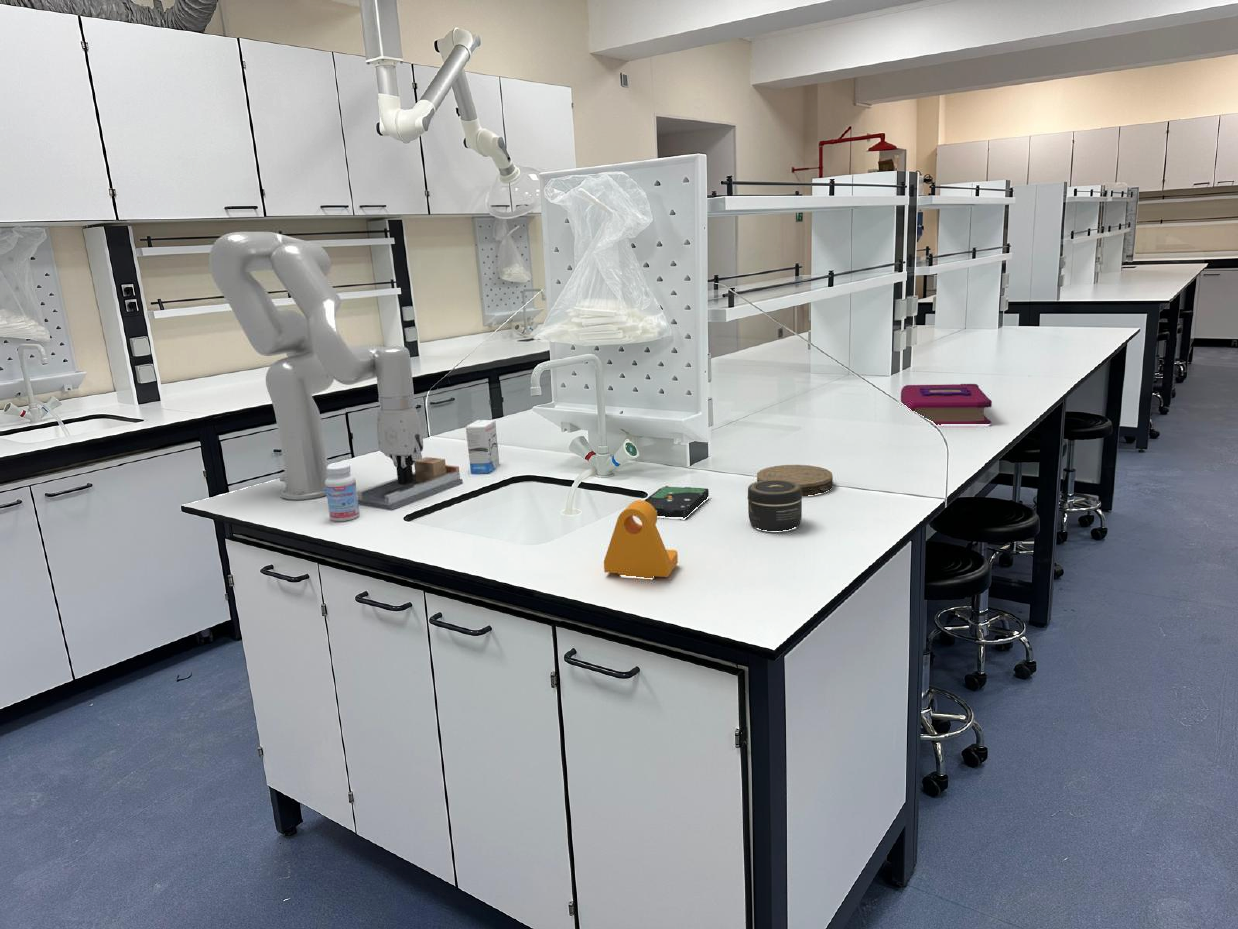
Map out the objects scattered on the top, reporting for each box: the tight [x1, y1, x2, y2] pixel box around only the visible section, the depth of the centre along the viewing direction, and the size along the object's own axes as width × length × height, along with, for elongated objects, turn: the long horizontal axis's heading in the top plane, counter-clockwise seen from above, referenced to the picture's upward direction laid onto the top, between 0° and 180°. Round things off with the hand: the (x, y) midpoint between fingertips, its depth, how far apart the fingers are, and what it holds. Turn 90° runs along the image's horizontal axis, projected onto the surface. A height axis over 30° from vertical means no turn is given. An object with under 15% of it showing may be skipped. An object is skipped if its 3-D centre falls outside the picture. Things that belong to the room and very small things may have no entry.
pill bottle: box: [325, 462, 360, 522], centre depth 180 cm, size 6×6×11 cm
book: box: [900, 383, 993, 425], centre depth 243 cm, size 21×28×8 cm
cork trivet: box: [756, 464, 834, 496], centre depth 185 cm, size 16×16×3 cm
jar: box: [747, 480, 803, 531], centre depth 161 cm, size 10×10×8 cm
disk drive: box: [643, 485, 710, 518], centre depth 176 cm, size 10×3×15 cm
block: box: [413, 456, 447, 483], centre depth 201 cm, size 6×4×5 cm, turn 58°
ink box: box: [465, 419, 501, 475], centre depth 213 cm, size 9×5×12 cm, turn 168°
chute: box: [357, 464, 464, 511], centre depth 196 cm, size 11×22×4 cm, turn 147°
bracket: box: [603, 499, 679, 578], centre depth 142 cm, size 11×7×12 cm, turn 71°
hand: (405, 482), depth 195 cm, fingers closed
